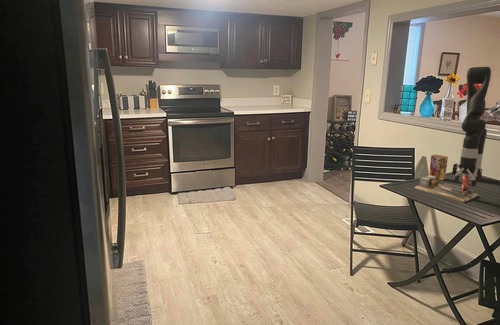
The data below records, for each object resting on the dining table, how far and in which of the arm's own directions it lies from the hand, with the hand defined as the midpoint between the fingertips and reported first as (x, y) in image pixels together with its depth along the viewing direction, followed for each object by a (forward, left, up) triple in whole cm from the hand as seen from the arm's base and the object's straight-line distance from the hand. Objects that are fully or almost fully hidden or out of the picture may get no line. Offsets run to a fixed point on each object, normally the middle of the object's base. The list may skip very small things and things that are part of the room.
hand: (464, 184), depth 194 cm
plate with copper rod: (0, -2, -6) cm, 7 cm away
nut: (0, -17, -6) cm, 18 cm away
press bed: (0, -10, -8) cm, 13 cm away
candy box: (-21, -27, -8) cm, 35 cm away
